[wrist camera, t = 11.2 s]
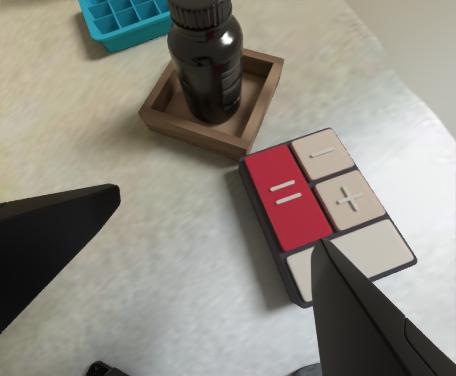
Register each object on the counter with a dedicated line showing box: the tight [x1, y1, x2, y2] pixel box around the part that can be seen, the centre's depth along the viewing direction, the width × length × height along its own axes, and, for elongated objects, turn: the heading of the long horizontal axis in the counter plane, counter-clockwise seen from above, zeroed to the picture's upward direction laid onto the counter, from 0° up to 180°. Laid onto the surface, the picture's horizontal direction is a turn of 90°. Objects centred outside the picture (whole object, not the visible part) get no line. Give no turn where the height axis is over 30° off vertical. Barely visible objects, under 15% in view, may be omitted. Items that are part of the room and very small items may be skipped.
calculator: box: [239, 128, 417, 308], centre depth 21 cm, size 11×4×15 cm
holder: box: [138, 48, 284, 161], centre depth 26 cm, size 13×13×3 cm
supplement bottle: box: [167, 0, 243, 123], centre depth 21 cm, size 7×7×12 cm
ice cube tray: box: [78, 0, 172, 52], centre depth 32 cm, size 12×20×3 cm, turn 115°
